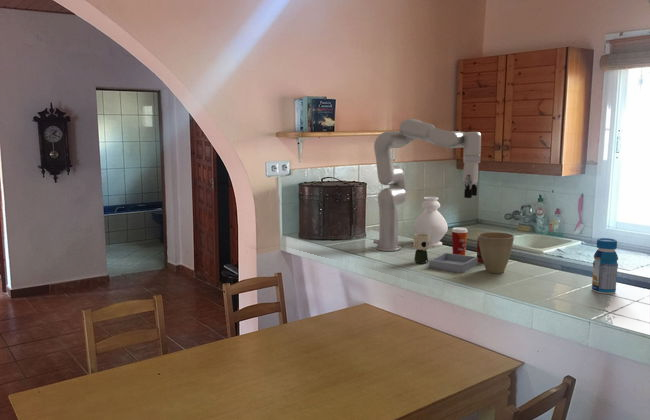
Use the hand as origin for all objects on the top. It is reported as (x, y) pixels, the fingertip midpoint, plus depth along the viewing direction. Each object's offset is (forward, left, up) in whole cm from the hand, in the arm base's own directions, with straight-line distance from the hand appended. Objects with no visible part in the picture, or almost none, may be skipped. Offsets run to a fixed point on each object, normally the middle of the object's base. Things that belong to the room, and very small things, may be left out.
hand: (470, 196), depth 255 cm
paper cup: (-7, +4, -31) cm, 32 cm away
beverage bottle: (+60, -18, -31) cm, 70 cm away
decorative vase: (-32, +25, -31) cm, 51 cm away
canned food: (+6, +4, -31) cm, 31 cm away
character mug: (-17, -16, -31) cm, 38 cm away
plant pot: (+16, -12, -31) cm, 37 cm away
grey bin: (-2, -14, -30) cm, 33 cm away
